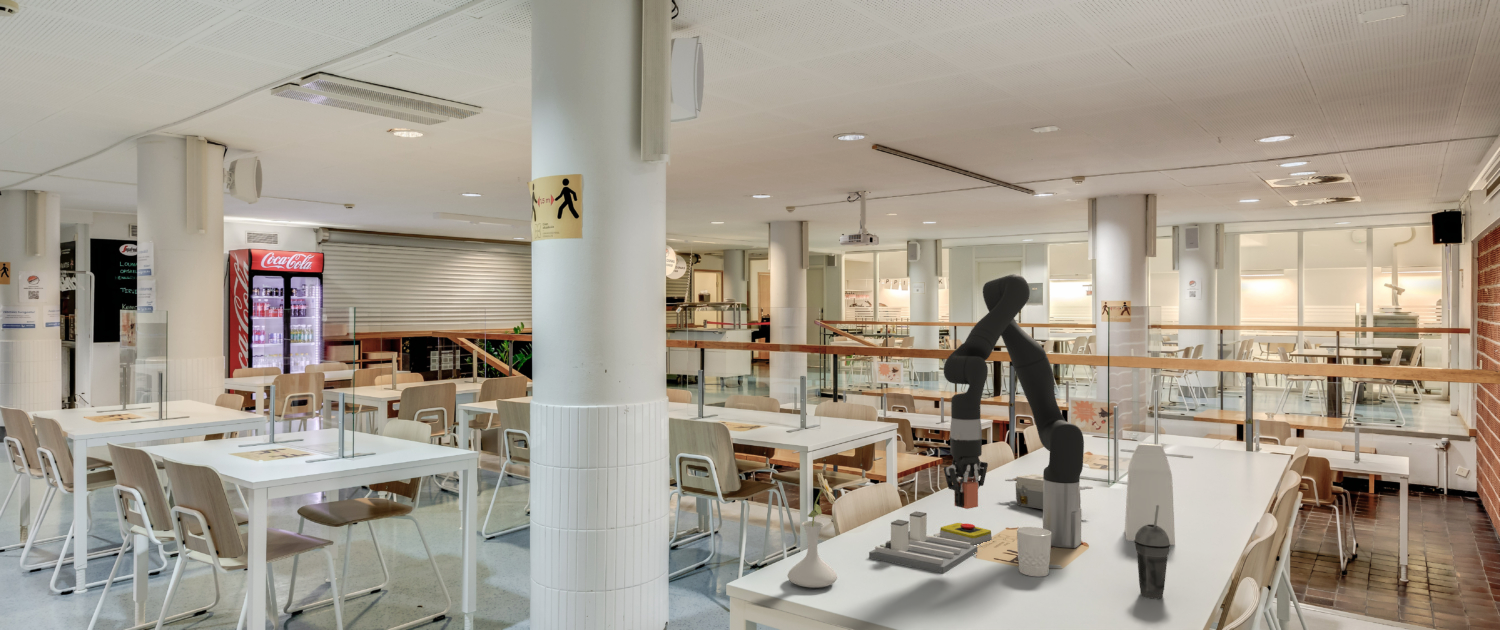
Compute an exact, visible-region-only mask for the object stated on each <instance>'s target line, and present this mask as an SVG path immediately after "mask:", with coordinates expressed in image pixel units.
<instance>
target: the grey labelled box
mask: <svg viewBox="0 0 1500 630" xmlns="http://www.w3.org/2000/svg"><path fill="white" fill-rule="evenodd" d="M1043 479H1044V478H1043V474H1034V473H1032V474H1026V475H1025V474H1024V475H1019V476H1016V477H1015V478H1007V479H1006V478H1005V479H1004V482H1015V499H1016V505H1017V506H1021V507H1026V508H1034V509H1039V510H1043ZM1091 489H1094V488H1093V487H1092V486H1088V485H1087V486H1086V485H1085V486H1081V485H1079V508H1081V503H1082V502H1081V491H1083V490H1091ZM1081 509H1082V508H1081Z"/></svg>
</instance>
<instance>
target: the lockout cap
mask: <svg viewBox="0 0 1500 630" xmlns="http://www.w3.org/2000/svg"><path fill="white" fill-rule="evenodd" d="M958 486H959V487H960V482H959V483H958ZM953 491H954V490H953ZM963 492H964V507H960V508H962V509H965V510H968V509H969V510H970V509H973V508H978V507H979V489H978V482H973V481H967V483H965V484H964V491H963ZM953 495H954V497H955V491H954V493H953ZM954 507H957V508H959V507H958V506H956V504H955V503H954Z"/></svg>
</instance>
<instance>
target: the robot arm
mask: <svg viewBox="0 0 1500 630" xmlns="http://www.w3.org/2000/svg"><path fill="white" fill-rule="evenodd" d="M982 297H983V301H984V304H985V306H986V308H987V311H988V313H986V314H985V315H984V316H983V317H982V318H981V319H980V320H978V322H977V323H976V324H975V325H974V326H973V327H972V329H971V330H970V332H969V334H968V336H967V337H966V339H965V341H964V342H963V343H962V344H961V345H960V346H958V347H957V348H956V349H955V350H954V351H953V352H952V353H950V355H949V356H948V357H947V358H946V360H945V363H944V366H943V375H944V378H945V380H946V381H948V382H949V383H951V384H955V385H968V388H967V390H966V391H965V392H963V393H956V394H954V395H953V396H952V397H951V403H950V405H951V407H950V408H951V409H950V410H951V411H950V414H951V420H950V428H949V429H950V433H949V434H950V438H949V439H950V442H949V443H950V444H949V445H950V449H949V450H950V455H951V456H952V458H953V459H952V462H951V465H950V466H944V467H943V472H944V476H945V480H946V484H947V488H948V489H949V490H952V491H955V496H954V505H955V504H956V506H955V507H957V506H958V507H957V508H961V507H964V492H963V491H964V484H965V483H967V481H973V482H978V490H979V488H980V487H983V486H984V483H985V480H986V476H987V470H988V465H989V464H988V462H985V461H980V457H981V456H982V453H983V451H982V450H983V449H982V447H983V446H982V445H983V444H982V443H983V442H982V432H983V431H982V429H983V428H982V421H981V419H982V418H981V404H982V403H981V402H982V396H983V391H984V389H985V385H986V382H987V378H988V373H989V368H988V364H987V362H986V361H987V360H988V359H989V357H990V356H991V354H992V353H993V351H994V349H995V348H996V345H997V343H998V341H999V339H1000V338H1001V339H1002V341H1003V343H1004V345H1005V349H1006V351H1007V352H1008V355H1009V358H1010V361H1011V364H1012V367H1013V370H1014V372H1015V374H1016V377H1017V379H1018V382H1019V383H1020V385H1021V386H1020V387H1021V389H1022V391H1023V393H1024V396H1025V399H1026V401H1027V403H1028V405H1029V407H1030V410H1031V412H1032V416H1033V419H1034V420H1033V421H1034V422H1035V426H1036V431H1037V435H1038V437H1039V440H1040V442H1041V444H1042V447H1044V448H1045V449H1046V450H1047V451H1048V452H1049V461H1048V465H1047V466H1046V467H1045V468H1044V469H1043V474H1042V475H1043V478H1044V479H1043V509H1042V529H1046V530H1049V531H1050V532H1051V547H1058V548H1067V549H1068V548H1069V549H1070V548H1072V549H1076V548H1078V547H1079V546H1080V545H1081V544H1082V508H1079V486H1081V484H1080V480H1081V479H1080V477H1081V474H1082V473H1083V472H1082V471H1083V468H1084V453H1085V452H1084V451H1085V441H1084V434H1083V432H1082V430H1081V429H1080V427H1079V426H1078V425H1076V424H1074V423H1072V422H1069V421H1066V419H1065V418H1064V416H1063V414H1062V411H1061V410H1060V407H1059V405H1058V402H1057V400H1056V394H1055V378H1054V377H1055V376H1054V375H1055V374H1054V371H1053V368H1052V365H1051V363H1050V360H1049V358H1048V355H1047V353H1046V351H1045V349H1044V347H1043V346H1042V345H1041V344H1040V343H1039V342H1038V341H1037V340H1036V339H1034V338H1033V337H1032V336H1031V335H1030V334H1028V333H1027V331H1025V330H1024V329H1022V328H1021V326H1020V325H1019V324H1018V323H1017V320H1016V319H1015V318H1016V316H1017V315H1018V314H1019V313H1020V312H1021V310H1022V309H1024V307H1025V306H1026V304H1027V303H1028V301H1029V300H1030V286H1029V284H1028V281H1027V280H1026V279H1025V278H1024V276H1022V275H1020V274H1017V273H1016V274H1014V273H1013V274H1009V275H1004V276H1002V277H998V278H995V279H992V280H989V281H987V282H985V283H984V284H983V287H982ZM959 482H960V487H959V486H958V483H959Z"/></svg>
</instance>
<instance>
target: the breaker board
mask: <svg viewBox="0 0 1500 630" xmlns="http://www.w3.org/2000/svg"><path fill="white" fill-rule="evenodd" d="M909 535H910V530H909ZM975 552H977V553H978V547H977V546H972V545H971V543H967V542H962V541H956V540H950V539H945V538H940V537H936V536H934V535H928V534H926V541H925V542H921V541H915V540H910V539H909V544H908V551H906V552H904V551H899V550H894V549H891V539H890V540H887V541H886V542H885V543H884V544H880V545H879V546H875V547H874V549H873V550H871V551H869V552H868V557H869V559H873V560H878V561H883V562H886V563H891V564H896V565H902V566H906V567H911V568H916V569H921V570H924V571H925V570H927V571H931V572H936V573H941V574H945V573H947V572H948V571H950V570H951V569H953V568H954V567H956V566H958V565H959V564H961V563H962V562H964V561H966V560H967V559H969V558H970V557H972V556H974V555H973V553H975ZM975 554H976V553H975Z"/></svg>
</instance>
